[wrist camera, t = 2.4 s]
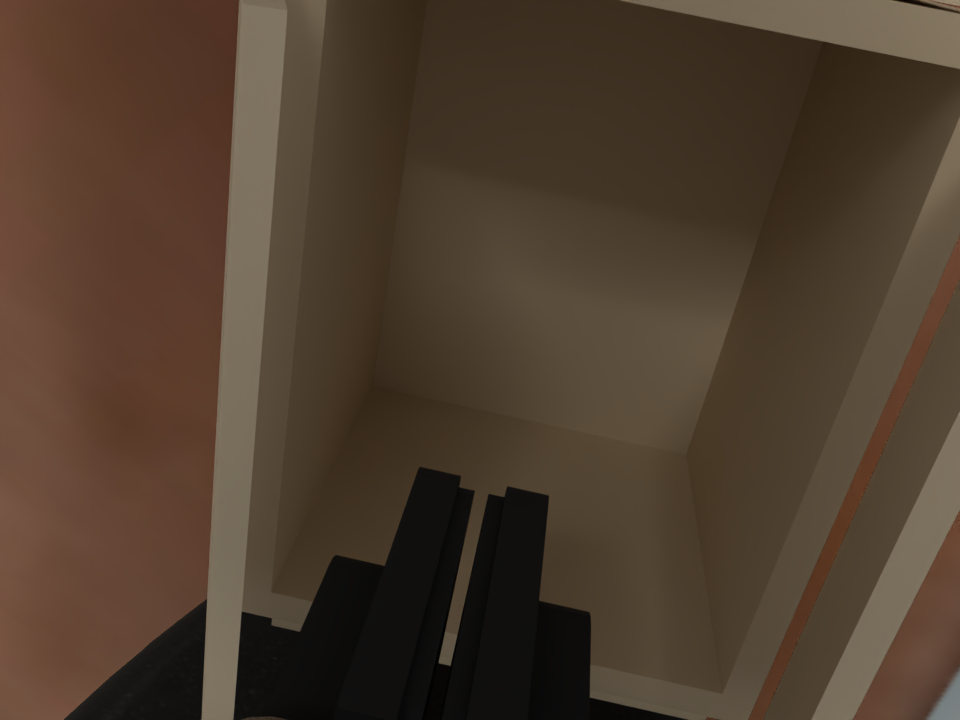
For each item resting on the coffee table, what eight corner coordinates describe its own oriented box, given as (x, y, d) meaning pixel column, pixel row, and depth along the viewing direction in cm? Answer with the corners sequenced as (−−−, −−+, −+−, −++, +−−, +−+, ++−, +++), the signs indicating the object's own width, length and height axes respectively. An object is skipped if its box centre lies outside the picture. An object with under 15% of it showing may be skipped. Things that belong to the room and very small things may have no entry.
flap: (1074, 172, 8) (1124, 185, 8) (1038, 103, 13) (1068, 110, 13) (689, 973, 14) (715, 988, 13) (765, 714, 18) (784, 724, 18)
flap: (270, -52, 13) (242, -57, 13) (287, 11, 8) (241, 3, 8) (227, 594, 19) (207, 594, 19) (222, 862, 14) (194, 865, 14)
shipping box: (419, -129, 22) (292, -159, 13) (874, -39, 22) (1064, -6, 13) (350, 405, 29) (235, 627, 20) (696, 481, 28) (738, 741, 19)
